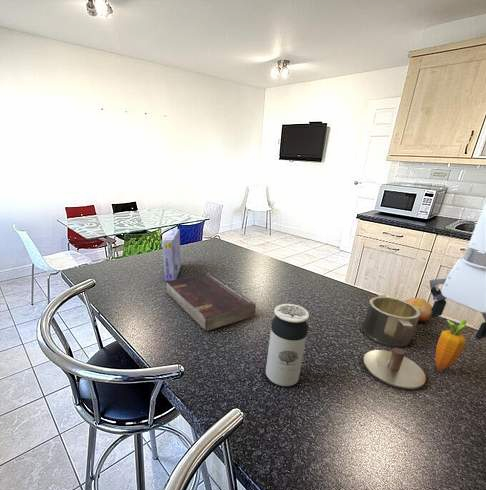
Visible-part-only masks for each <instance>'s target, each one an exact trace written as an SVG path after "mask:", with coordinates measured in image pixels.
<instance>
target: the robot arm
mask: <svg viewBox="0 0 486 490" xmlns="http://www.w3.org/2000/svg"><path fill="white" fill-rule="evenodd" d="M440 285H442V288H441V289H440V288H439V287H440ZM429 287H430V293H431V295H432V297H433V298H432V300H433V301H434V302H433V305H432V310H431V311H432V314H431V316H430V317H431V318H436V317H440V316H442V315H443V312H444V310H445V307H446V305H447V300H449V301H451V302H454V303H456V304H458V305H460V306H463V307H465V308H468V309H471V310H472V311H475V312H478V313H480V314H481V315H482V317H483V319H484V322H481V324H480V326H479V328H478V330H477V332H476V334H475V339H476V340H482V339H484V338H486V202H485V203H484V206H483V207H482V210H481V212H480V215H479V217H478V220H477V222H476V224H475V226H474V230H473V232H472V234H471V237H470V239H469V242H468V245H467V246H466V249H465V252H464V254H463V256H462V257H459V258H458V260H457V261H456V262H455V264H454V265H453V267H452V268H451V270H450V272H449V273H448V275H447V277H445V278H434V279H430V280H429Z"/></svg>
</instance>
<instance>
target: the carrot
mask: <svg viewBox="0 0 486 490" xmlns="http://www.w3.org/2000/svg"><path fill="white" fill-rule="evenodd" d="M446 323H448V325H449V327H450V329H447V330H442V331H441V333H440V335H439V338H438V341H437V344H436V348H435V357H434V360H435V366H436V370H437V371H438V372H443V371H445V370H446V369H448V368H449V367H451V366H453V364H454V363H455V362H456V361H457V359H458V358H459V356H460V355H461V353H462V351H463V349H464V347H465V345H466V343H467V342H466V340H467V339H466V336H465V335H464V334H462V331H463V330H464V329H466V328H467V325H466V324H467V323H468V321H467V320H466V319H464V318H462V319H461V321H460V323H459V325H456V324H455V322H452V321H451V320H450V319H446Z"/></svg>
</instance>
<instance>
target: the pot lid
mask: <svg viewBox="0 0 486 490" xmlns="http://www.w3.org/2000/svg"><path fill="white" fill-rule="evenodd" d="M405 355H406V351H405V350H403V349H402V348H401V347H393V348H392V351H390V350H385V349H373V350H369V351H367V352H366V353H365V354H364V355H363V359H362V363H363V367H365V369H366V370H367V371H368V373H369V374H370V375H372V376H373V377H375V378H376V379H377V380H378V381H380V382H382V383H384V384H386V385H389V386H391V387H393V388H397V389H402V390H416V389H417V390H418V389H421V388H422V387H423V386H424V385H425V383H426V380H427V376H426V373H425V372H424V370H423V369H422V368H421V367H420V366H419V364H417V363H416V362H414V361H413V360H411V359H410V358H409V357H406V356H405Z"/></svg>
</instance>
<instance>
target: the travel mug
mask: <svg viewBox="0 0 486 490" xmlns="http://www.w3.org/2000/svg"><path fill="white" fill-rule="evenodd" d="M273 311H274V315H275V316H274V318H272V320H271V325H270V334H269V343H268V350H267V357H266V366H265V375H266V377H267V379H268V380H269V381H270V382H272V383H274V384H275V385H278V386H281V387H291V386H294V385H295V384H297V383H298V382H299V380H300V375H301V369H302V364H303V358H304V355H305V354H304V353H305V347H306V342H307V338H308V332H309V325H308V323H307V321H308V320H309V318H310V313H309V311H308V310H307V309H306V308H304V307H302V306H300V305H298V304H295V303H294V304H293V303H281V304H278V305H276V307H275V308H274V310H273Z"/></svg>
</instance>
